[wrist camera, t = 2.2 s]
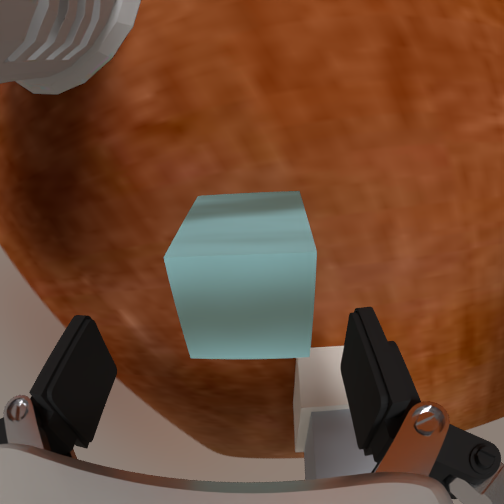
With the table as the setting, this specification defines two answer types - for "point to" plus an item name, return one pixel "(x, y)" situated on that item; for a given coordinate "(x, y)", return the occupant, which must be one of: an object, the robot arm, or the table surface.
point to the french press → (60, 40)
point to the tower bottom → (317, 388)
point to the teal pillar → (245, 276)
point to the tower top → (333, 447)
